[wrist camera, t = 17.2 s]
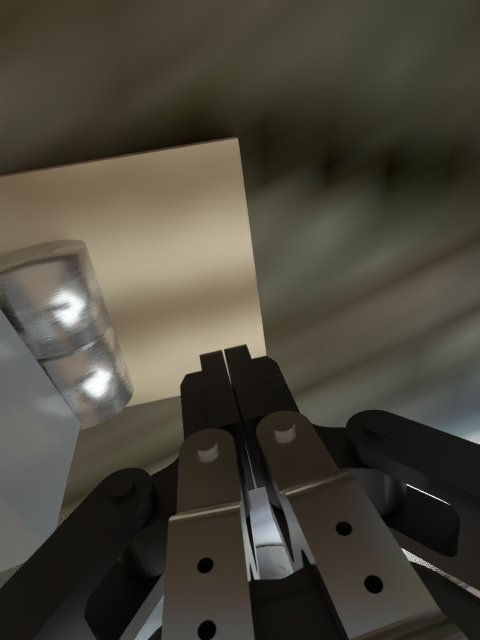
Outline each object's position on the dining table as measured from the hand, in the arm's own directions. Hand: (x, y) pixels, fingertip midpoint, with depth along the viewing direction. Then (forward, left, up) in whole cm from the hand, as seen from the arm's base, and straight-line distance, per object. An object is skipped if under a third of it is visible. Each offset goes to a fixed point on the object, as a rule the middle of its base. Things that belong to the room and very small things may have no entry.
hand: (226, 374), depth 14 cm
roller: (0, +6, -4) cm, 7 cm away
